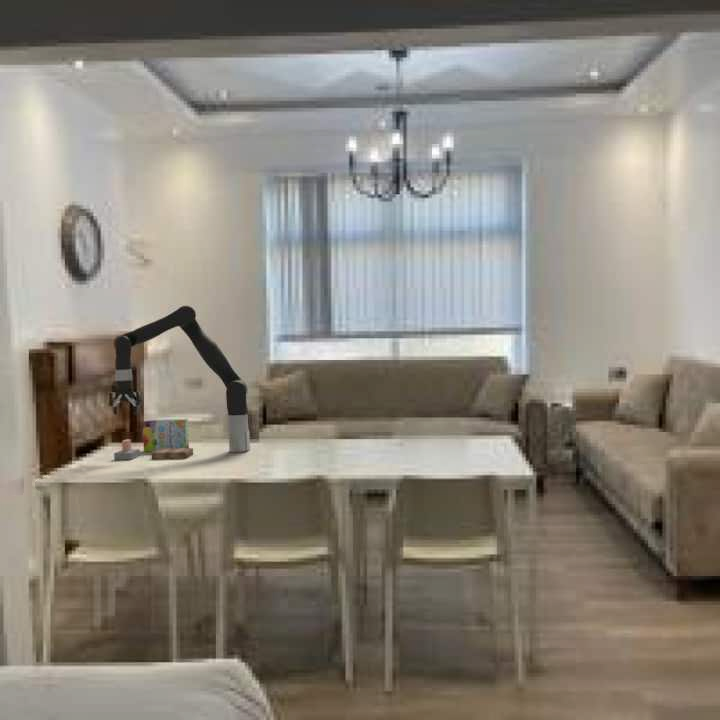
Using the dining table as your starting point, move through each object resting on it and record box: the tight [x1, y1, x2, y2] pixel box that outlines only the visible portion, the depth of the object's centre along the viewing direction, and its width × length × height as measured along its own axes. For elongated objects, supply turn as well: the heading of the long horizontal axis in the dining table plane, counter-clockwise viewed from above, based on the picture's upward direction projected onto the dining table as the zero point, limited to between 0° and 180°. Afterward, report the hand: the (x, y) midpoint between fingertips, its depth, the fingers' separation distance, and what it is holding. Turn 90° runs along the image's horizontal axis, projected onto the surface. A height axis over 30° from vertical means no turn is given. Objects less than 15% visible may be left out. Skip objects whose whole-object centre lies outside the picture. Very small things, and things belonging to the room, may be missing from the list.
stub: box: [113, 439, 141, 461], centre depth 422 cm, size 8×12×8 cm, turn 176°
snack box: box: [142, 418, 190, 452], centre depth 442 cm, size 21×6×15 cm, turn 84°
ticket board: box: [151, 447, 194, 460], centre depth 420 cm, size 16×12×3 cm
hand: (125, 414), depth 421 cm, fingers open, 8 cm apart
